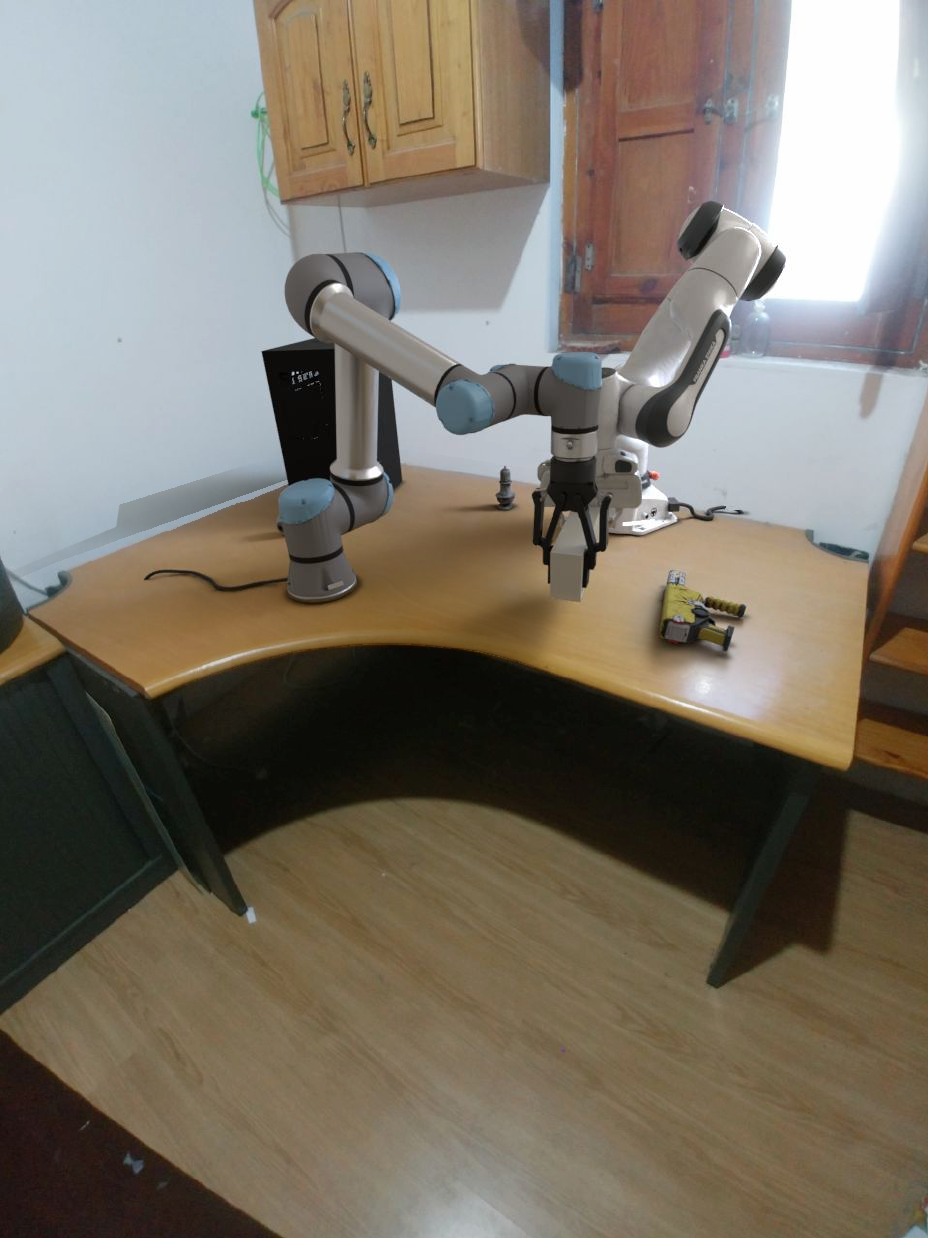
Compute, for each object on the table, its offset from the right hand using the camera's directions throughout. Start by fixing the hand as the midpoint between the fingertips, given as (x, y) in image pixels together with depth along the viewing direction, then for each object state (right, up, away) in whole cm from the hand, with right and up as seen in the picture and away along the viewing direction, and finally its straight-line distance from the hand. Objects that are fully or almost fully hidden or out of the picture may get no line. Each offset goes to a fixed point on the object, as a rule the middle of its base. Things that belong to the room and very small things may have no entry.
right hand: (587, 526), depth 123 cm
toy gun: (+20, -19, -8) cm, 29 cm away
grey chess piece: (-13, +14, +52) cm, 55 cm away
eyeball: (-73, +4, +42) cm, 84 cm away
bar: (-3, -8, -4) cm, 10 cm away
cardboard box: (-60, +18, +65) cm, 90 cm away
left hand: (-6, -12, -13) cm, 19 cm away
